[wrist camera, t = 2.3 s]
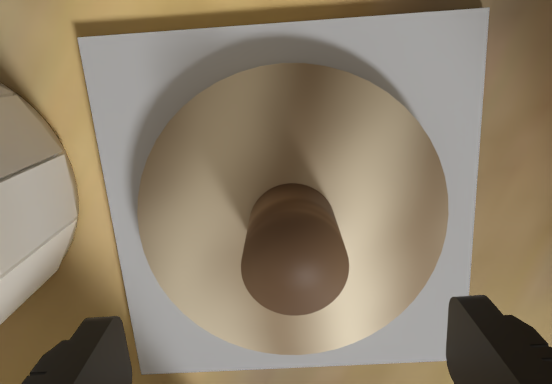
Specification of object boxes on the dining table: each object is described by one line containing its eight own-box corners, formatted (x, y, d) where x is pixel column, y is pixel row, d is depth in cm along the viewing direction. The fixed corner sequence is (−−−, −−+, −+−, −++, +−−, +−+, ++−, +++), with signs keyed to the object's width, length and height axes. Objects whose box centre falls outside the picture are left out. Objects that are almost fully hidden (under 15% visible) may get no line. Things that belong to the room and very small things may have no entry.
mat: (483, 8, 17) (489, 7, 17) (460, 353, 22) (464, 360, 21) (82, 38, 18) (77, 37, 17) (144, 367, 22) (141, 374, 22)
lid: (446, 50, 17) (510, 48, 12) (434, 334, 21) (479, 416, 16) (120, 75, 18) (60, 81, 13) (167, 348, 21) (134, 432, 17)
